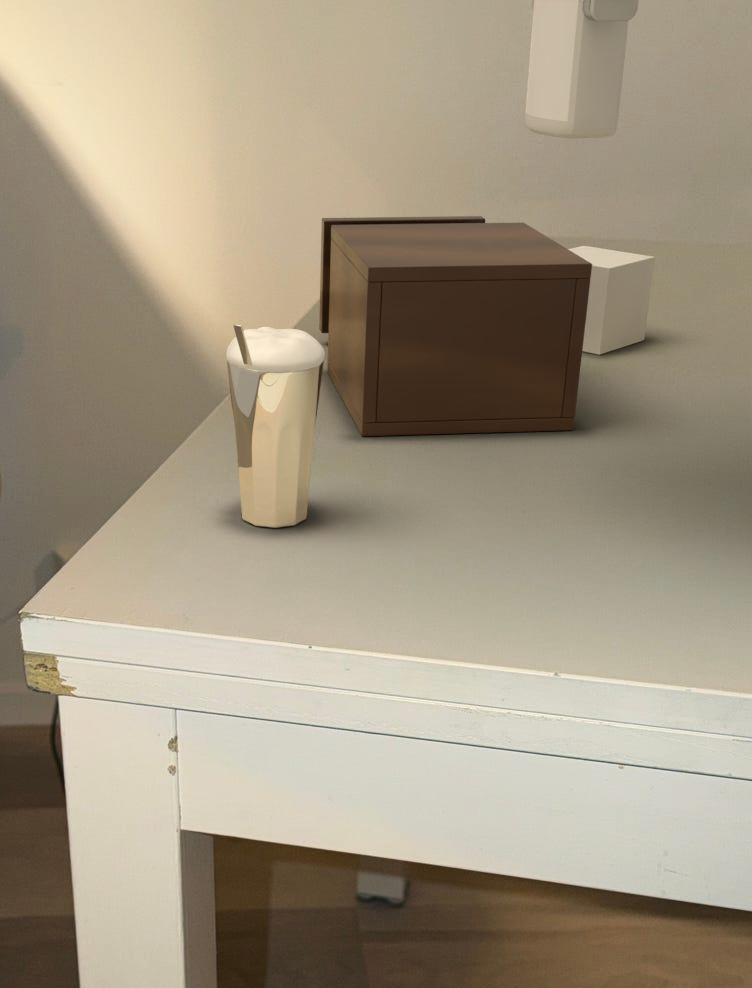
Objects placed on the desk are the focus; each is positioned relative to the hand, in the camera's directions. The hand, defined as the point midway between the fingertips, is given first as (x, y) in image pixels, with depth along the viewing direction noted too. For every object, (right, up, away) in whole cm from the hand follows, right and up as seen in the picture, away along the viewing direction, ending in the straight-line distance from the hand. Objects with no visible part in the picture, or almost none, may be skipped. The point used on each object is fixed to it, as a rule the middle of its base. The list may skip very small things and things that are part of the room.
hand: (580, 18), depth 55 cm
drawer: (-4, -5, +36) cm, 37 cm away
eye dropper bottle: (0, -4, +2) cm, 5 cm away
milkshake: (-13, -21, +9) cm, 26 cm away
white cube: (+10, -4, +41) cm, 42 cm away
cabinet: (-2, -11, +27) cm, 29 cm away
